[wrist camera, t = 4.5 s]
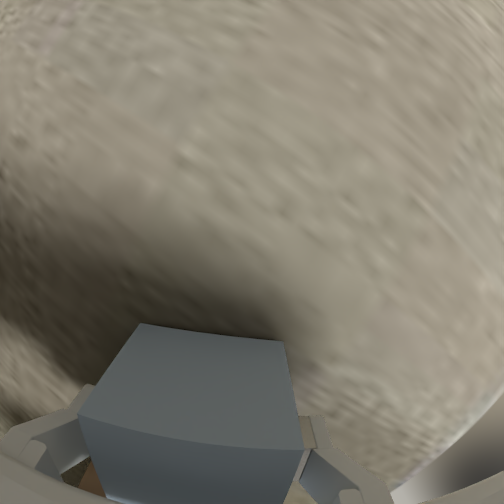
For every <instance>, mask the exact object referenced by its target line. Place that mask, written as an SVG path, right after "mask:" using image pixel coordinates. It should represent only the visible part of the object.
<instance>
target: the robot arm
mask: <svg viewBox="0 0 504 504" xmlns="http://www.w3.org/2000/svg"><path fill="white" fill-rule="evenodd" d="M94 387H95V386H94V385H91V384H86V385H84V387H83V388H82V389H81V391H80V392H79V393H78V395H77V396H76V398H75V399H74V400H73V402H72V403H71V404H70V406H69V407H68V409H67V410H66V409H61V410H58V411H55V412H53V413H50V414H47V415H44V416H42V417H39V418H36V419H33V420H30V421H28V422H25V423H22V424H19V425H16V426H13V427H11V428H10V430H9V431H8V432H7V433H6V435H5V436H4V437H3V438H2V440H1V441H0V504H124V503H121V502H117V501H114V500H111V499H108V498H104V497H101V496H98V495H95V494H93V493H90V492H87V491H84V490H82V489H79V488H76V487H74V486H71V485H69V484H66V483H64V481H63V479H62V478H61V476H60V474H62V473H63V472H65V471H66V470H68V469H70V468H71V467H73V466H75V465H76V464H78V463H79V462H81V461H83V460H84V459H86V458H87V457H89V456H90V454H89V451H88V448H87V445H86V442H85V439H84V436H83V433H82V430H81V426H80V423H79V420H78V416H77V413H78V411H79V410H80V408H81V407H82V405H83V404H84V402H85V401H86V399H87V398H88V396H89V395H90V393H91V392H92V390H93V389H94ZM298 418H299V423H300V428H301V433H302V438H303V443H304V449H305V450H304V453H303V455H302V458H301V461H300V463H299V466H298V468H297V471H296V473H295V476H294V478H293V481H299V483H300V484H301V485H302V486H303V487H304V489H305V490H306V491H307V492H308V493H309V494H310V495H311V496H312V497H313V499H314V500H315V501H316V502H317V503H318V504H394V502H393V500H392V497H391V495H390V492H389V489H388V487H387V485H386V483H385V482H384V481H382V480H381V479H379V478H378V477H376V476H375V475H374V474H372V473H371V472H369V471H368V470H367V469H365V468H364V467H362V466H361V465H360V464H358V463H357V462H356V461H354V460H353V459H352V458H350V457H349V456H348V455H346V454H345V453H344V452H342V451H341V450H340V449H338V448H333V445H332V442H331V438H330V435H329V432H328V429H327V425H326V422H325V419H324V417H323V416H298ZM419 504H504V471H502V472H500V473H498V474H496V475H494V476H492V477H489V478H487V479H485V480H483V481H480V482H478V483H476V484H473V485H471V486H469V487H466V488H464V489H461V490H458V491H456V492H453V493H450V494H447V495H444V496H441V497H439V498H436V499H432V500H429V501H426V502H422V503H419Z"/></svg>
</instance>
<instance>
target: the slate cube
mask: <svg viewBox="0 0 504 504" xmlns="http://www.w3.org/2000/svg"><path fill="white" fill-rule="evenodd" d="M77 416H78V420H79V423H80V426H81V430H82V433H83V436H84V439H85V442H86V445H87V448H88V451H89V454H90V457H91V460H92V462H93V465H94V468H95V470H96V473H97V475H98V478H99V480H100V483H101V485H102V488H103V490H104V492H105V495H106V497H107V498H108V499H111V500H114V501H117V502H121V503H124V504H283V502H284V500H285V497H286V495H287V493H288V490H289V488H290V486H291V483H292V481H293V478H294V476H295V473H296V471H297V468H298V466H299V463H300V461H301V458H302V455H303V453H304V450H305V449H304V443H303V438H302V433H301V428H300V423H299V418H298V413H297V408H296V403H295V398H294V393H293V388H292V383H291V378H290V373H289V368H288V363H287V358H286V353H285V348H284V343H283V341H273V340H262V339H252V338H242V337H233V336H225V335H217V334H209V333H201V332H194V331H187V330H180V329H174V328H167V327H161V326H155V325H149V324H143V323H140V324H139V325H138V327H137V328H136V329H135V331H134V332H133V334H132V335H131V336H130V338H129V339H128V341H127V342H126V343H125V345H124V346H123V347H122V349H121V350H120V352H119V353H118V354H117V356H116V357H115V359H114V360H113V362H112V363H111V364H110V366H109V367H108V369H107V370H106V372H105V373H104V374H103V376H102V377H101V379H100V380H99V382H98V383H97V385H96V386H95V387H94V389H93V390H92V392H91V393H90V395H89V396H88V398H87V399H86V401H85V402H84V404H83V405H82V407H81V408H80V410H79V411H78V413H77Z"/></svg>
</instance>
